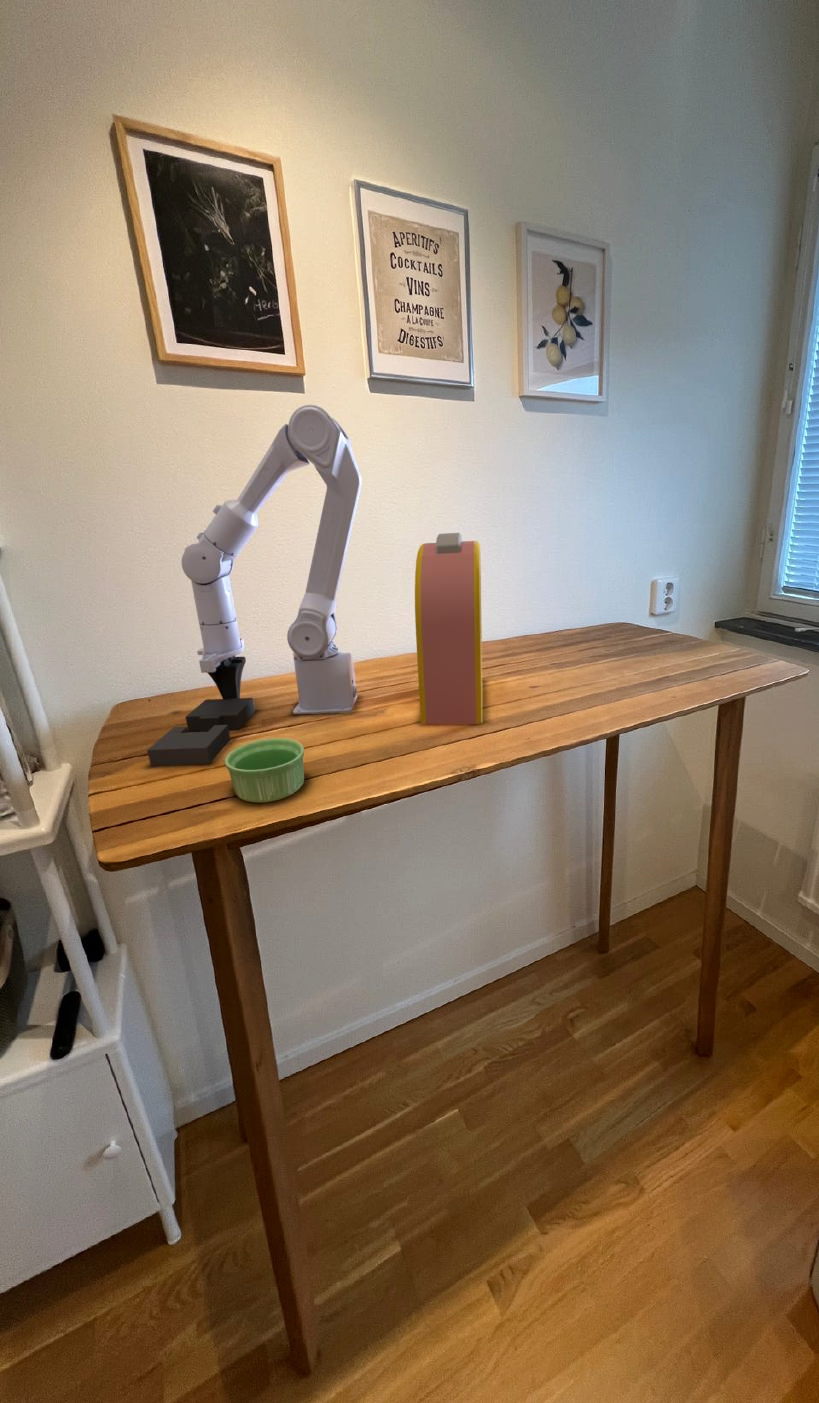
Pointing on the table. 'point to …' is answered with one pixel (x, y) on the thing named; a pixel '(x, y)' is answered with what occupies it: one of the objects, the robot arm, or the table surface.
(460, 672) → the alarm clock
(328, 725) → the table surface
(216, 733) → the charcoal pad
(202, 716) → the black pad
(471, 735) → the table surface
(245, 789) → the ramekin
